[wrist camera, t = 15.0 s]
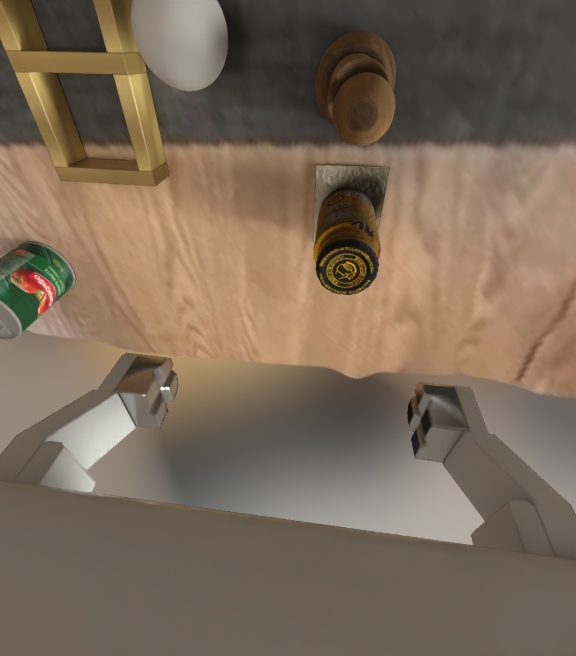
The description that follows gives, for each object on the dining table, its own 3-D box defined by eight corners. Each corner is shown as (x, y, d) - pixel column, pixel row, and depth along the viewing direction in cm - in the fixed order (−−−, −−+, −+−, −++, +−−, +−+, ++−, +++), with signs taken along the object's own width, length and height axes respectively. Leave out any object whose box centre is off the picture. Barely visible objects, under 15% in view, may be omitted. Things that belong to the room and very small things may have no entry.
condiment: (313, 241, 39) (304, 301, 30) (316, 164, 33) (307, 209, 24) (375, 244, 38) (386, 306, 29) (389, 166, 33) (408, 213, 24)
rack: (-28, -112, 24) (-73, -131, 21) (107, -115, 23) (76, -136, 20) (80, 171, 37) (60, 181, 34) (169, 175, 36) (155, 186, 33)
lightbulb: (217, -39, 25) (155, -80, 17) (265, 48, 28) (234, 49, 20) (165, 24, 28) (91, 16, 19) (214, 97, 31) (168, 117, 22)
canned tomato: (5, 252, 46) (-68, 299, 37) (41, 233, 43) (-31, 278, 34) (52, 296, 50) (-4, 346, 42) (87, 281, 47) (33, 331, 39)
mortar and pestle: (340, 140, 32) (339, 213, 18) (301, 73, 29) (264, 100, 15) (406, 89, 28) (464, 131, 15) (369, 8, 25) (400, -32, 12)
